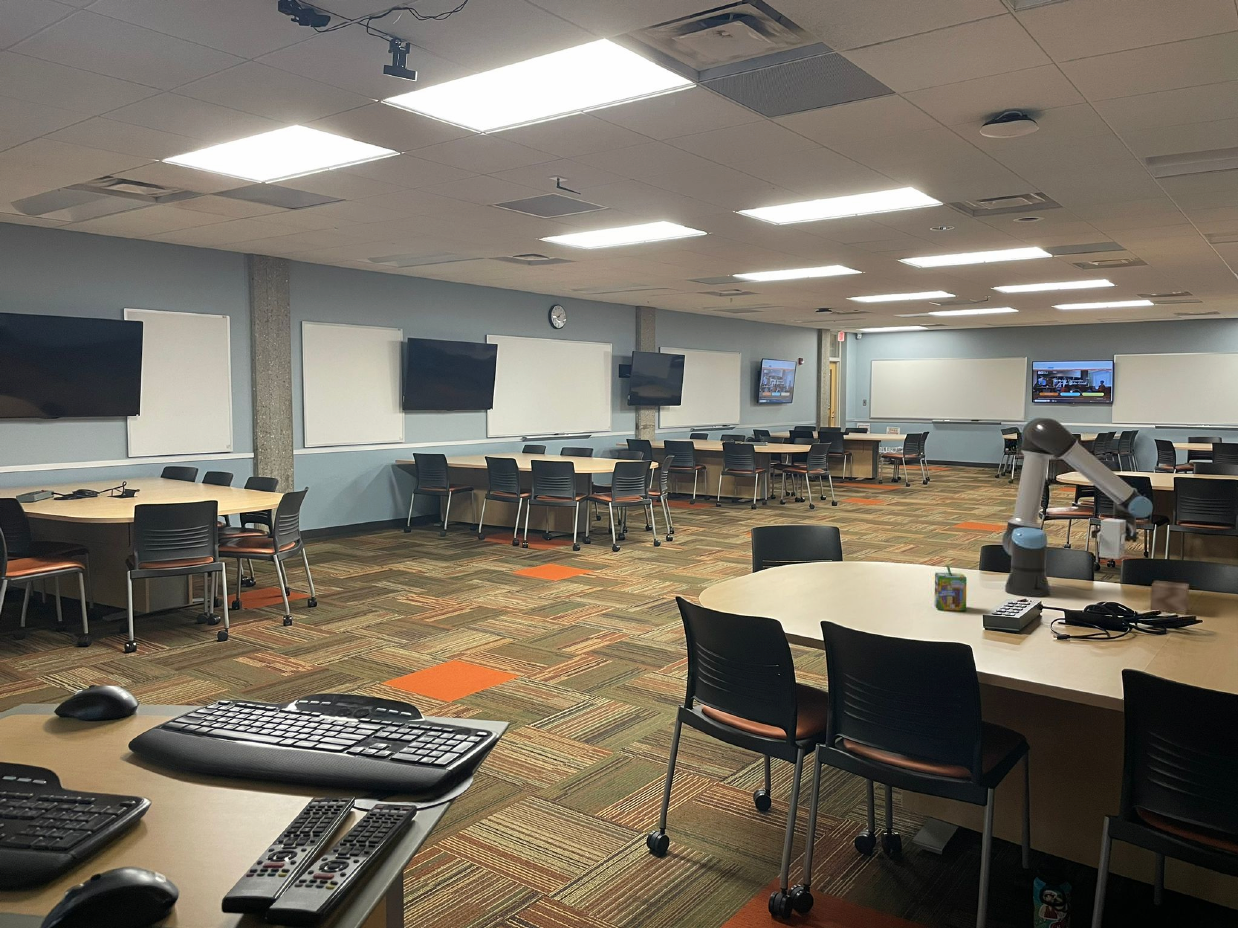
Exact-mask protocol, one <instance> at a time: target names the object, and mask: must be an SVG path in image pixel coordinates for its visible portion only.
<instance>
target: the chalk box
mask: <svg viewBox="0 0 1238 928" xmlns="http://www.w3.org/2000/svg"><path fill="white" fill-rule="evenodd" d="M945 565H946V569H947V572H935V573H934V602H933V603H934V604H933V605H934V607H935V608H936V610H938V611H956V612H957V611H959V612H967V576H965V575H964V574H962V573H960V572H959V573H957V572H951V569H950V568H951V567H950V566H949V564H948V563H946V564H945Z"/></svg>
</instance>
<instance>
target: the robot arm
mask: <svg viewBox="0 0 1238 928" xmlns="http://www.w3.org/2000/svg"><path fill="white" fill-rule="evenodd" d="M1021 439H1022V444H1021V449H1020V452H1021V453H1022V455H1023V464H1022V468H1021V473H1020V479H1019V484H1018V490H1017V495H1016V500H1015V506H1014V512H1013V516H1012V517H1011V519H1009V520H1008V521H1007V525H1006V530H1005V531H1004V532H1003V535H1002V536H1001V537H1002V538H1001V543H1002V547H1003V549H1004V551H1005V552H1006V553H1007V554H1008V556H1011V557H1010V559H1011V561H1010V567H1011V568H1010V572H1009V574H1008V577H1007V580H1006V583H1005V585H1004V586H1005V589H1004V590H1005V592H1006V593H1007V594H1008V593H1009V594H1012V595H1016V596H1022V597H1023V596H1024V597H1025V596H1026V597H1034V598H1035V597H1036V598H1037V597H1040V598H1041V597H1048V596H1050V595H1051V587H1050V584H1049V583H1050V582H1049V580H1048V577H1047V574H1046V573H1047V572H1046V568H1047V548H1048V547H1047V544H1048V536H1047V533H1046V532H1045V531H1044V530H1043V529H1041V527H1042V526H1041V524H1040V523H1039V522H1038V521H1039V514H1040V510H1041V509H1040V508H1041V503H1042V499H1043V493H1044V488H1045V483H1046V477H1047V471H1048V466H1049V461H1050V460H1051V459H1052V458H1054V457H1055V458H1056V459H1061V460H1063V461H1065V462H1066V463H1067V464H1068V465H1069V466H1071V467H1072V468H1073V469H1074V470H1076V471H1077V472H1078V473H1079V474H1080V475H1081V476H1083V477H1084V478H1085V479H1087V480H1088V481H1089V482H1090V483H1091V484H1092V485H1094V486H1095V487H1096V488H1098V489H1099V490H1100V491H1101V492H1102V493H1104V494H1105V495H1106V496H1107V497H1108V498H1110V499H1111V500H1112V501H1113V510H1112V511H1113V512H1112V519H1120V520H1126V531H1125V534H1123V535H1122V536H1121V543H1122V544H1124V543H1125V544H1126V542H1133V543H1136V542H1137V540H1139V539H1140V538H1139V537H1140V532H1139V531H1137V518H1140V519H1141V518H1145V517H1148V516H1150V514H1151V513H1152V511H1153V509H1154V508H1153V503H1152V501H1151V500H1150V499H1149V498H1147V497H1146V496H1144V495H1143V496H1142V495H1141V494H1140V493H1139V492H1138V489H1137V488H1136V487H1132V486H1131V485H1129V484H1128V483H1127V482H1126V481H1124V480H1123V479H1122V478H1121V477H1119V476H1118V475H1117V474H1116V473H1114V471H1112V470H1111V469H1110V468H1108V466H1106V464H1104V463H1103V462H1101V461H1100V460H1099V459H1098V458H1097V457H1095V455H1093V454H1092V453H1090V451H1088V450H1087V449H1086V448H1085V447H1083V446H1082V445H1081V444H1080V443H1079V441H1078V440H1079V439H1078V438H1077V437H1075V435H1073V434H1072V433H1071V432H1070V431H1069V430H1068V429H1067V428H1066V427H1065V426H1064V425H1063V424H1061V423H1060V422H1059V421H1057V419H1053V418H1047V417H1046V418H1044V417H1038V418H1037V417H1036V418H1033V419H1031V420H1029V421H1028V422H1027V423H1025V425H1024V426H1023V428H1022V430H1021ZM1100 532H1101V528H1099V527H1097V528H1096V529H1093V530H1091V535H1090V536H1091V537H1090V538H1091V539H1096V541H1097V542H1100Z"/></svg>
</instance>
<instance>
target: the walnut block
mask: <svg viewBox="0 0 1238 928" xmlns="http://www.w3.org/2000/svg"><path fill="white" fill-rule="evenodd" d="M1150 588H1151V589H1150V590H1151V591H1150V610H1159V611H1161V612H1160V613H1164V612H1166V613H1165V614H1172V613H1176V614H1175V615H1183V616H1186V614H1187V612H1188V610H1189V589H1190V584H1189V583H1185V582H1176V581H1175V582H1174V581H1165V580H1163V581H1162V580H1156V579H1155V580H1154V581H1153V582H1152V583H1151V587H1150ZM1150 610H1149V611H1150Z"/></svg>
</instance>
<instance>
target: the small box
mask: <svg viewBox="0 0 1238 928" xmlns="http://www.w3.org/2000/svg"><path fill="white" fill-rule="evenodd" d="M1100 529H1101V532H1100V541H1099V554H1098V557H1099V558H1102V559H1103V558H1106V559H1113V560H1114V559H1115V560H1119V559H1121V558H1124V557H1125V546H1126V545H1125V544H1126V542H1125V543H1124V544H1122V543H1121V536H1122V535H1123V534H1125V531H1126V520H1120V519H1113V518H1105V519H1101V520H1100Z"/></svg>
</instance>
